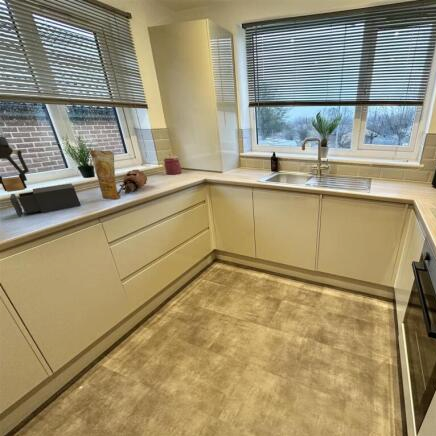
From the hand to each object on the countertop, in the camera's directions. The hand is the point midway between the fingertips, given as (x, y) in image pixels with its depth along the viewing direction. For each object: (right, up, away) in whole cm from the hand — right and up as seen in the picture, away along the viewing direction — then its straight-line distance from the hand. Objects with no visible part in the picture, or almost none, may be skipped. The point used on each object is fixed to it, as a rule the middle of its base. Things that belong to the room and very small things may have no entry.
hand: (16, 189), depth 111 cm
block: (0, 0, 0) cm, 0 cm away
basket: (-8, -10, +13) cm, 18 cm away
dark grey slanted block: (0, -7, +22) cm, 23 cm away
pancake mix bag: (+17, 0, +38) cm, 41 cm away
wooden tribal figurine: (+20, +6, +52) cm, 56 cm away
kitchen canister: (+23, +27, +104) cm, 109 cm away
